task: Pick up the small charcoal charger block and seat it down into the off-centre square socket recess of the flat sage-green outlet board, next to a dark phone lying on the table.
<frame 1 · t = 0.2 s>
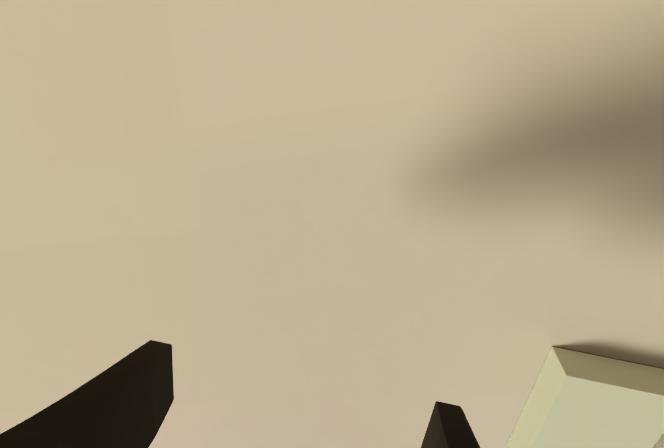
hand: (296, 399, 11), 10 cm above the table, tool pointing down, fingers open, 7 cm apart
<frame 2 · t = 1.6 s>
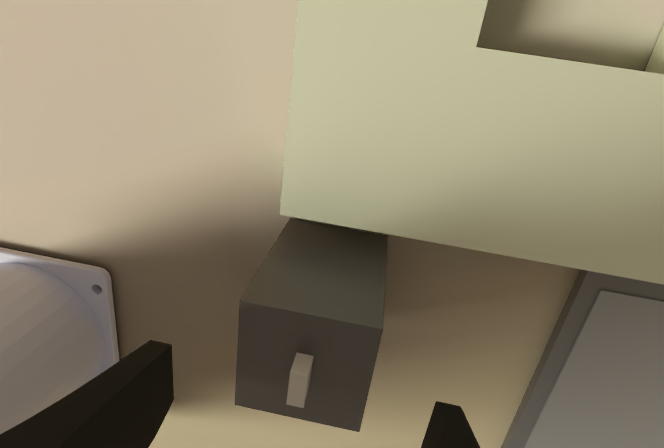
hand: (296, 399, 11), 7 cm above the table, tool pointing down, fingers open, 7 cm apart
charger: (332, 268, 18), on the table
outlet board: (529, 27, 13), on the table
phone: (603, 392, 19), on the table
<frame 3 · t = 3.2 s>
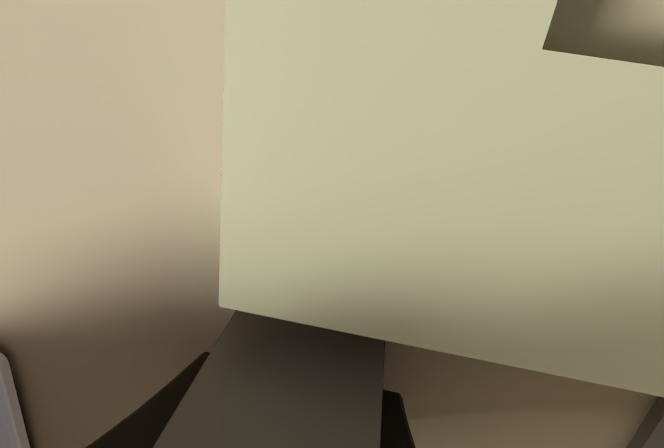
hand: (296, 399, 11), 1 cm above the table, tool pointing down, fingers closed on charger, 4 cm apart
charger: (307, 362, 12), on the table, touching gripper
outlet board: (620, 16, 8), on the table
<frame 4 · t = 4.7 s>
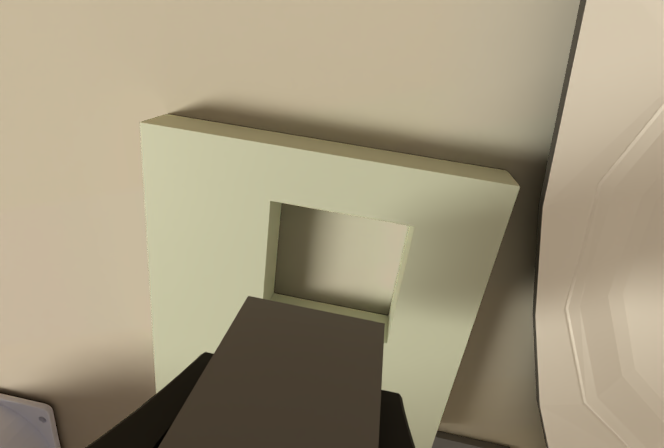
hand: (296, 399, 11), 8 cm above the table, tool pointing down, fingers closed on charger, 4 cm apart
charger: (307, 362, 13), point 7 cm above the table, touching gripper
outlet board: (311, 286, 20), on the table
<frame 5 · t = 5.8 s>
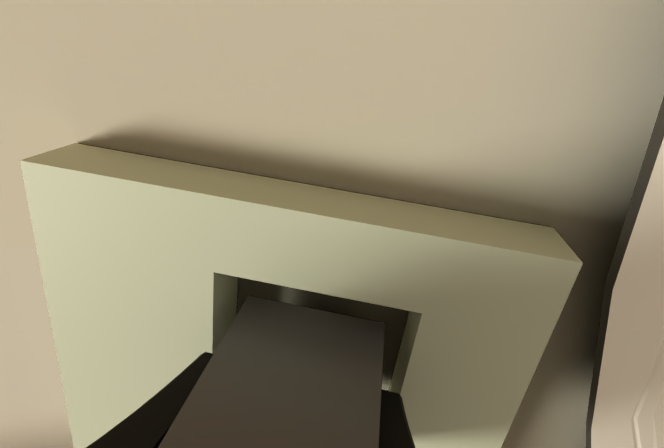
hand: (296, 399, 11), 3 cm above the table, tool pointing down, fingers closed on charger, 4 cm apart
charger: (308, 362, 13), point 1 cm above the table, touching gripper
outlet board: (282, 368, 15), on the table
when the fingers open (3 cm above the table, at t = 6.5 s): charger drops 1 cm, resting in outlet board.
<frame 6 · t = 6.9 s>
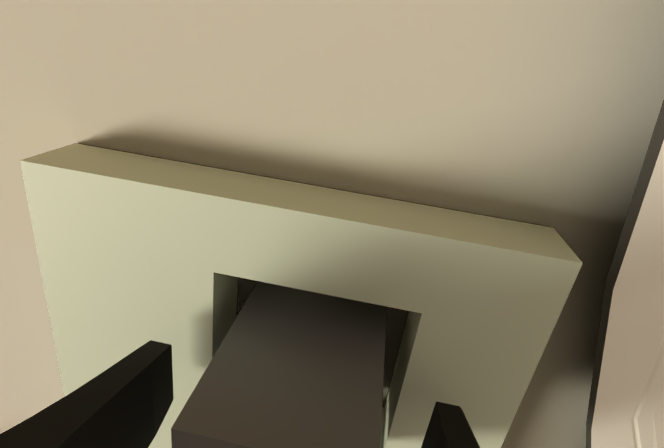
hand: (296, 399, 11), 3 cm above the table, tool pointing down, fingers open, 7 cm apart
charger: (317, 332, 14), resting in outlet board
outlet board: (282, 368, 15), on the table
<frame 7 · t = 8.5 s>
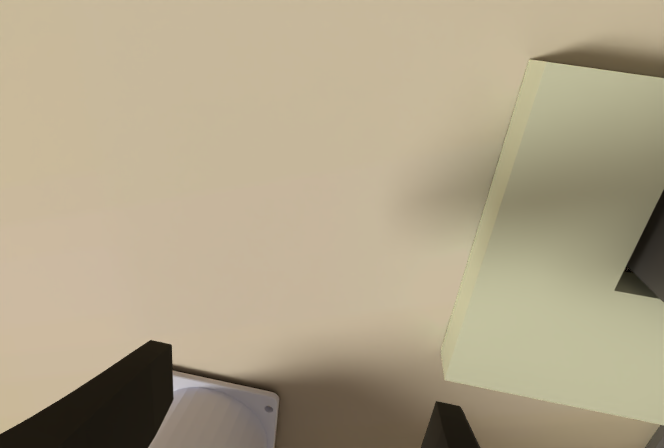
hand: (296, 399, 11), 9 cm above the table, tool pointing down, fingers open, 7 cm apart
outlet board: (643, 257, 18), on the table
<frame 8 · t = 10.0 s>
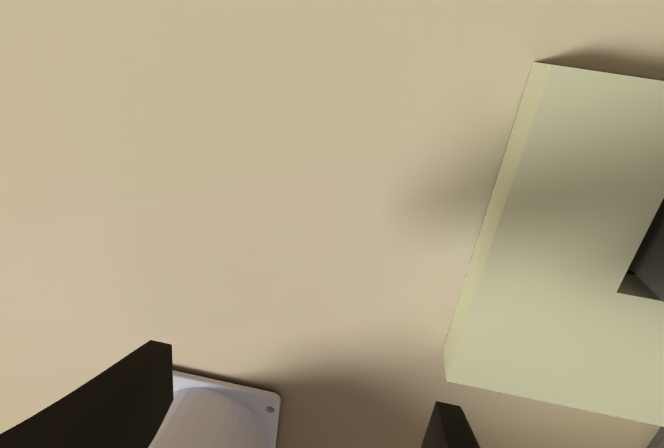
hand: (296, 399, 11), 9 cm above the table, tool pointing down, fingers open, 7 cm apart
outlet board: (645, 259, 18), on the table
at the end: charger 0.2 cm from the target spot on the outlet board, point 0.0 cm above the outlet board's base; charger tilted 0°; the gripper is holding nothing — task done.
